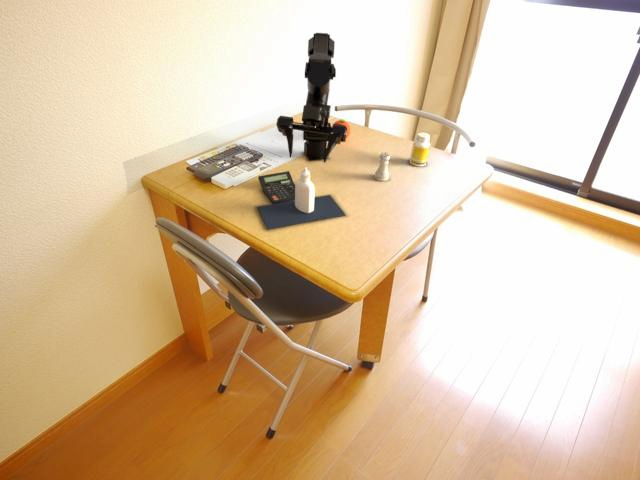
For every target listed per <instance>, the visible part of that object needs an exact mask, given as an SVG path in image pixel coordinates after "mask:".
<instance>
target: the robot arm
mask: <svg viewBox="0 0 640 480" xmlns="http://www.w3.org/2000/svg"><path fill="white" fill-rule="evenodd" d="M307 57H308V61H306V62H305V68H304V79H306V82H307V95H306V96H307V97H306V100H305V104H304V105H303V109H302V114H301V122H296V121H294V117H292V116H286V115H279V116H278V117H277V120H276V127H277V131H278V133H281V134H282V136H283V137H286V142H287V148H288V155H289V158H292V157H293V150H294V149H293V147H294V131H301V132H303V133H302V137H303V138H302V140H303V141H305V142H303V143H304V144H303V155H304V156H305V157H306V158H307V160H308V161H310V162H313V161H320V160H321V161H322V160H323V163H324V164H325V163H326V161H327V160H328V159H329V156H330V154H331V153H332V151H333V150H334V149H335V147H336V145H341V142H342V143H346V140H347V138H346V135H347V126H346V125H340V124H334V123H333V124H332V125H331V122H329V119H330V115H331V107H332V106H331V105H330V104H328V102H329V95H330V85H331V81H333V80H334V78H336V76H337V74H336V73H337V70H336V69H337V68H336V67H335V64H334V63H332V59H334V57H335V40H334V39H332V38H331V34H329V33H327V32H315V33H313V36H312V37H310V38H309V39H308V41H307ZM332 126H333V128H332Z"/></svg>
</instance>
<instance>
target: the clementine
mask: <svg viewBox="0 0 640 480" xmlns="http://www.w3.org/2000/svg"><path fill="white" fill-rule="evenodd" d="M333 124H340V125H346V126H347V135H346V139H348V138H349V136H350V135H351V129H352V128H351V126H350V124H349V122H347V121H346V120H345V119H339V120H336V121H335V122H333ZM331 127H332V128H333V125H331Z"/></svg>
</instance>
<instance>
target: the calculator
mask: <svg viewBox="0 0 640 480" xmlns="http://www.w3.org/2000/svg"><path fill="white" fill-rule="evenodd" d="M257 178H258V181H259V184H260V187H261V190H262V192H263V193H264V195H265V197H266V198H267V199H268V201H269V202H270V204H276V203H283V202H289V201H295V182H294V180H293V177H292V175H291V173H290V170H287V171H282V172H275V173H269V174H263V175H258V177H257Z"/></svg>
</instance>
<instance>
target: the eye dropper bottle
mask: <svg viewBox="0 0 640 480" xmlns="http://www.w3.org/2000/svg"><path fill="white" fill-rule="evenodd" d="M294 184H295V200H294V201H295V206H296V208H297V209H298V210H300V211H302V212H304V213H310V212H312V211H314V197H315V196H316V195H315V194H316V188H315V185H314V183H313V182H312V181H311V172H310V170H308V167H307V166H304V167H303V170H302V171H300V176H299V178H298V179H296V180H295V182H294Z"/></svg>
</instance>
